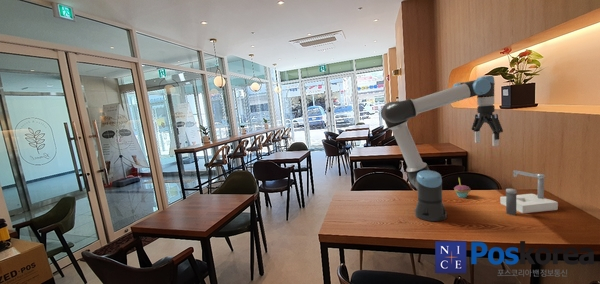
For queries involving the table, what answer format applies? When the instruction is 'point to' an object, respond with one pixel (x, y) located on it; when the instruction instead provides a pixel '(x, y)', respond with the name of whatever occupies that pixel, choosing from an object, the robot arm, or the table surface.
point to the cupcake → (462, 190)
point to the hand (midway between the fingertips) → (486, 144)
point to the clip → (528, 174)
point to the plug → (511, 201)
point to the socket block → (533, 201)
